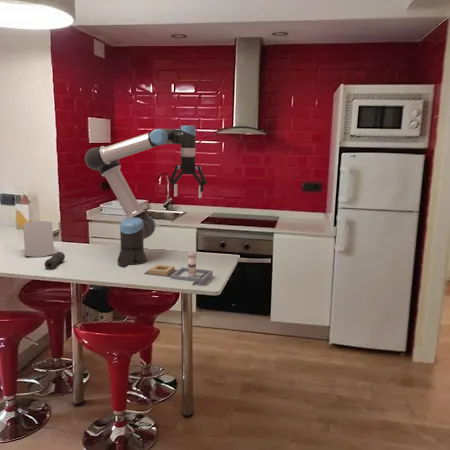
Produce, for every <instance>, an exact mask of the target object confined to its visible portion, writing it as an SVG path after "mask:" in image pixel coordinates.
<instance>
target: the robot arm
mask: <svg viewBox="0 0 450 450" xmlns="http://www.w3.org/2000/svg"><path fill="white" fill-rule="evenodd" d="M196 132H197V131H196V126H195V125H181V126H180V128H179V129H178V128H177V129H175V128H156V129H154V130H151V131H150V132H146V133H144V134H140V135H137V136H135V137H131V138H128V139H126V140H123V141H120V142H117V143H114V144H111V145H107V146H104V145H101V146H98V147H93V148H89V149H88V150H87V151H86V153H85V155H84V162H85V165H86V166H87V167H88V168H89V169H91V170H93V171H98V172H99V174H100V176H101V177H103V178H104V177H105V180H106V181H107V183H108V184H109V187H110V188H111V190H112V191H113V194H114V195H115V197H116V199H117V202H118V203H119V205H120V206H121V207H122V210H123V211H124V213H125V215H126V218H124V219H122V220H121V221H120V226H119V232H120V233H119V235H120V237H119V238H120V252H119V254H118V257H117V266H119V267H121V268H127V267H128V266H139V265H143V264H146V263H147V262H148V258H147V255H146V253H145V249H144V247H145V246H144V240H145V239H147V238H149V237H151V236H152V235H153V234H154V232H155V231H156V221H155V220H154V218H153V217H152V216H150V215H148V213H147V212H146V210H145V209H142V207H141V206H140V204H139V202H138V200H137V198H136V196H135V195H134V193H133V191H132V189H131V188H130V186H129V184H128V181H127V180H126V178H125V177H124V175H123V173H122V171H121V168H122V167H121V166H122V165H121V163H120V159H123V158H126V157H129V156H132V155H134V154H135V155H136V154H138V153H141V152H143V151H147V150H150V149H152V148H153V149H154V148H156V147H159V146H162V145H180V156H181V157H180V165H179V164H175V165H174V170H173V172H172V173H171V174H172V175H170V178H169V181H168V182H169V183H170V184H172V190H173V192H174V193H173V197H178V187H179V186H178V183H177V182H179V180H180V178H182V176H184V175H192V176H193V177H194V179H195V180H196V181H197V183H198V184H199V185H198V199H202V196H203V194H202V193H203V192H204V189H205V188H204V187H205V186H204V185H207V184H208V182H207V179H206V177H205V174H204V172H203V169H202V166H201V165H198V166H196V151H197V150H196V144H197V143H196V142H197V141H196V137H197V134H196ZM179 170H181V171H180V172H179V173H178V171H179ZM196 171H197V172H198V173H197V172H196Z"/></svg>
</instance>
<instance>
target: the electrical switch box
mask: <svg viewBox="0 0 450 450" xmlns="http://www.w3.org/2000/svg"><path fill="white" fill-rule="evenodd" d="M22 225H23V226H22V228H23V242H24V243H23V245H24V255H25V256H26V257H34V258H35V257H36V258H41V257H46V256H49V255H50V256H51V255H54V254H55V252H54V251H55V250H54V230H53V222H52V221H45V220H38V219H37V220H34V221H33V220H32V221H29V222H24V223H23V224H22Z"/></svg>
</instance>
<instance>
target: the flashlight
mask: <svg viewBox="0 0 450 450" xmlns="http://www.w3.org/2000/svg"><path fill="white" fill-rule="evenodd" d="M65 257H66V255H65V253H64V252H62V251H56V252H54V253H53V254H52V256H51V258H48V259H46V260H45V262H44V267H45V269H46V270H53V269H55V268H56V267H57V266H58V265H59V264H61V263H62V262H64V260H65V259H66V258H65Z"/></svg>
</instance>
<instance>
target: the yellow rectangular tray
mask: <svg viewBox="0 0 450 450" xmlns="http://www.w3.org/2000/svg"><path fill="white" fill-rule="evenodd" d="M177 270H178V269H175V266H174V265H166V264H155V265H154V266H152V267H151V268H149V269H148V270H147V271H145V272H144V273H143V275H147V276H157V277H166V278H171V275H172V274H173V273H175V272H176V271H177Z"/></svg>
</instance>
